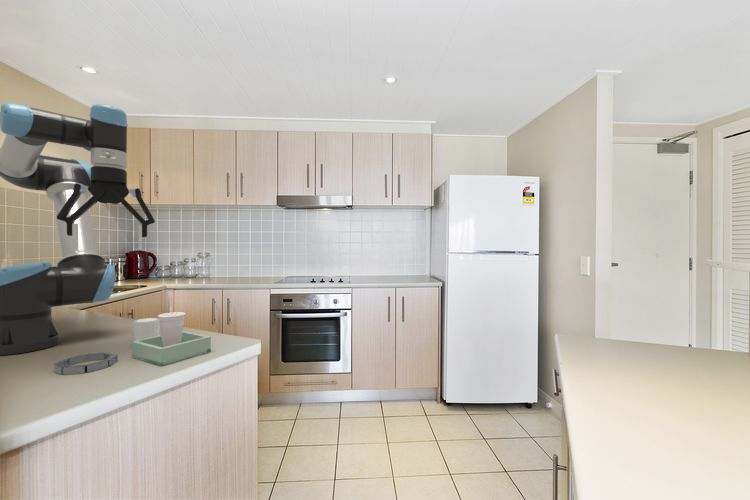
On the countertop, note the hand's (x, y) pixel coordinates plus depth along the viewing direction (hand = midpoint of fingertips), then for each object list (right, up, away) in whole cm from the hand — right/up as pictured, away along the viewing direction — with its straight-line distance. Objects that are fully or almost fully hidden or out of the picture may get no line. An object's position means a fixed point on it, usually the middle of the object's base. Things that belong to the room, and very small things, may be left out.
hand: (109, 249), depth 92 cm
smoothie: (+17, -27, -1) cm, 32 cm away
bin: (+17, -27, -1) cm, 32 cm away
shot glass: (+4, -27, +9) cm, 29 cm away
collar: (+2, -28, -9) cm, 29 cm away
